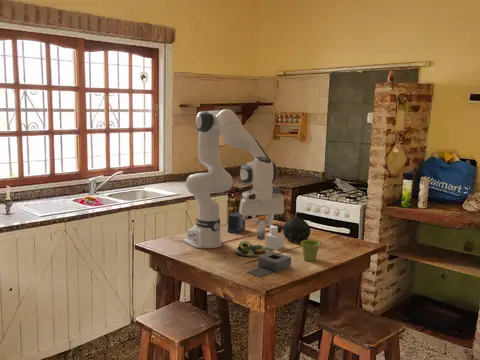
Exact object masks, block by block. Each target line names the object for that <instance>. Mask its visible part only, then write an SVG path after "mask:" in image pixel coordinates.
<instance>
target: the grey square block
mask: <svg viewBox="0 0 480 360" xmlns="http://www.w3.org/2000/svg"><path fill="white" fill-rule="evenodd" d="M257 268H262V269H265V270H268V271H270V272H272V273H274V274H277V273H280V272H283V271H285V270H288V269H290V268H292V257H291V256H289V255H285V254H282V253H279V252H275V251H271V252H269V253H268V254H265V255H262V256H259V257H257Z"/></svg>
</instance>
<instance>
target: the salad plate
mask: <svg viewBox="0 0 480 360" xmlns="http://www.w3.org/2000/svg"><path fill="white" fill-rule="evenodd" d="M271 252H275V250H274V249H270V248H267V247H266V245H261V244H256V245H255V244H252V242H250V241H248V240H242V241H240V242H239V244H238V247H237V248H236V250H235V254H236V255H237V256H240V257H243V258H244V257H245V258H258V257H259V256H262V255H265V254H268V253H271ZM261 254H262V255H261Z"/></svg>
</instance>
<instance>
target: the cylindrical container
mask: <svg viewBox="0 0 480 360" xmlns="http://www.w3.org/2000/svg"><path fill="white" fill-rule="evenodd" d="M257 221H258V225H256V227H257V228H256V230H257V231H256V240H259V241H262V240H263V241H265V240H266V226H265V225H266V215H257Z"/></svg>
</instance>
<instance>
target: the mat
mask: <svg viewBox="0 0 480 360" xmlns="http://www.w3.org/2000/svg"><path fill="white" fill-rule="evenodd" d="M246 273H248V274H251V275H253V276H256V277H259V278H262V277H265V276H268V275H270V274H272V273H273V272H271V271H268V270H265V269H262V268H260V267H256V268H253V269H251V270H248V271H246Z"/></svg>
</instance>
